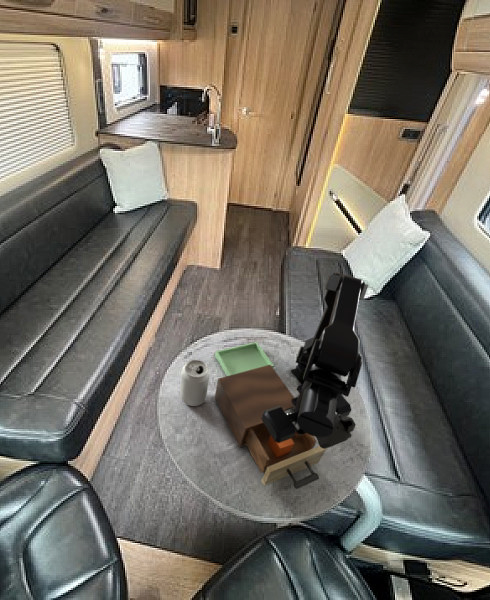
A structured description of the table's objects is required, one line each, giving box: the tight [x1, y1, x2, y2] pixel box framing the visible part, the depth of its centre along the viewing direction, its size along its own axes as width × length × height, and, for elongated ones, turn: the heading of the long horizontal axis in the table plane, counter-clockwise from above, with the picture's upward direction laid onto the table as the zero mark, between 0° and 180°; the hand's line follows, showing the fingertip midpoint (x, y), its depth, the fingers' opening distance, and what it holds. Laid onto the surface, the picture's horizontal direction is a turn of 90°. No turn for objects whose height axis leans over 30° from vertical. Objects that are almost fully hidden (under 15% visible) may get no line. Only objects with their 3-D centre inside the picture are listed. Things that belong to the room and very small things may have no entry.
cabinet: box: [214, 365, 295, 448], centre depth 86 cm, size 16×17×8 cm
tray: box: [214, 341, 275, 376], centre depth 102 cm, size 15×11×2 cm
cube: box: [268, 436, 294, 457], centre depth 77 cm, size 4×4×4 cm
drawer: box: [244, 424, 327, 490], centre depth 77 cm, size 19×15×6 cm
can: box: [179, 358, 211, 407], centre depth 87 cm, size 8×8×12 cm
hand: (296, 435), depth 71 cm, fingers closed
